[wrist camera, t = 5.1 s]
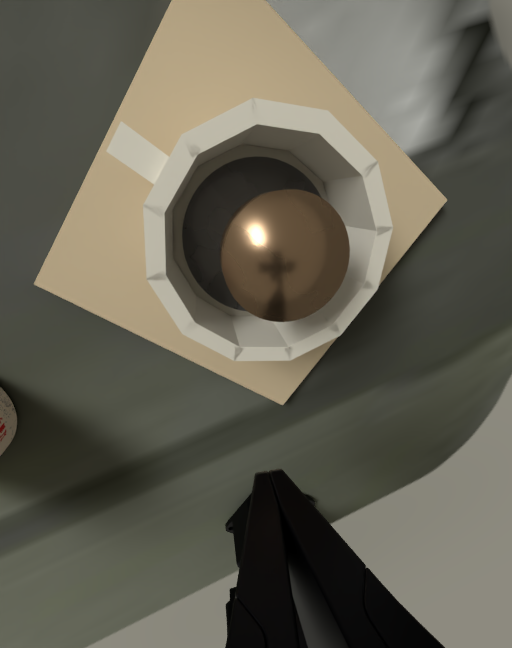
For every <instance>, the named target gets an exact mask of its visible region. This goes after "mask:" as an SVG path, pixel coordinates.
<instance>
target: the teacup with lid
mask: <svg viewBox="0 0 512 648" xmlns="http://www.w3.org/2000/svg"><path fill="white" fill-rule="evenodd" d="M16 428H17V415H16V411H15V408H14V405H13V403H12V401H11V400H10V398H9V396H8V395H7V394H6V392H5V391H4V390H3V389H2V388H1V387H0V456H1V455H2V453H3V452H4V451H5V449H6V448H7V447H8V446H9V444H10V443H11V441H12V439H13V438H14V435H15V432H16Z"/></svg>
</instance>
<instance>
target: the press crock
mask: <svg viewBox="0 0 512 648" xmlns="http://www.w3.org/2000/svg"><path fill="white" fill-rule="evenodd" d="M255 156H258V157H269V158H274V159H278V160H281V161H283V162H286V163H288V164H290V165H292V166H293V167H295V168H297V169H298V170H299V171H301V172H302V173H303V174H304V175H305V176H306V177H307V178H308V179H309V180H310V181H311V182H312V183H313V185H314V186H315V187H316V189H317V190H318V192H319V194H320V195H321V197H322V198H323V199H324V200H325V201H327V202H328V203H329V204H330V205H331V206H332V207H333V208H334V209H335V210H336V211H337V213H338V214H339V215H340V217H341V219H342V221H343V222H344V225H345V227H346V230H347V233H348V238H349V245H350V257H349V264H348V268H347V272H346V275H345V277H344V280H343V282H342V284H341V286H340V288H339V289H338V291H337V292H336V294H335V295H334V296H333V297H332V299H331V300H330V301H329V302H328V303H327V304H326V305H325V306H323V307H322V308H321V309H319V310H318V311H317V312H315V313H313V314H311V315H309V316H307V317H305V318H302V319H299V320H295V321H290V322H273V321H268V320H264V319H261V318H258V317H256V316H254V315H253V314H251V313H249V312H248V311H241V310H237V309H233V308H230V307H228V306H225V305H223V304H221V303H220V302H218V301H216V300H215V299H213V298H212V297H211V296H210V295H208V294H207V293H206V292H205V291H204V290H203V289H202V288H201V287H200V285H199V284H198V283H197V281H196V280H195V278H194V277H193V275H192V273H191V271H190V269H189V267H188V265H187V262H186V259H185V255H184V250H183V242H182V229H183V222H184V216H185V213H186V210H187V207H188V204H189V202H190V200H191V198H192V196H193V194H194V193H195V191H196V190H197V188H198V187H199V185H200V184H201V183H202V182H203V181H204V180H205V179H206V178H207V177H208V176H209V175H210V174H211V173H212V172H214V171H215V170H216V169H218V168H220V167H221V166H223V165H225V164H227V163H229V162H231V161H234V160H237V159H241V158H245V157H255ZM446 201H447V199H446V198H445V197H444V196H443V195H442V194H441V192H440V191H439V190H438V189H437V188H436V187H435V186H434V185H433V184H432V183H431V181H430V180H429V179H428V178H427V177H426V176H425V175H424V174H423V173H422V172H421V170H420V169H419V168H418V167H417V166H416V165H415V164H414V163H413V162H412V161H411V159H410V158H409V157H408V156H407V155H406V154H405V153H404V152H403V151H402V150H401V149H400V147H399V146H398V145H397V144H396V143H395V142H394V141H393V140H392V139H391V138H390V136H389V135H388V134H387V133H386V132H385V131H384V130H383V129H382V128H381V127H380V125H379V124H378V123H377V122H376V121H375V120H374V119H373V118H372V117H371V116H370V115H369V113H368V112H367V111H366V110H365V109H364V108H363V107H362V106H361V105H360V104H359V102H358V101H357V100H356V99H355V98H354V97H353V96H352V95H351V94H350V93H349V91H348V90H347V89H346V88H345V87H344V86H343V85H342V84H341V83H340V82H339V81H338V79H337V78H336V77H335V76H334V75H333V74H332V73H331V72H330V71H329V70H328V68H327V67H326V66H325V65H324V64H323V63H322V62H321V61H320V60H319V59H318V57H317V56H316V55H315V54H314V53H313V52H312V51H311V50H310V49H309V48H308V47H307V45H306V44H305V43H304V42H303V41H302V40H301V39H300V38H299V37H298V36H297V34H296V33H295V32H294V31H293V30H292V29H291V28H290V27H289V26H288V25H287V23H286V22H285V21H284V20H283V19H282V18H281V17H280V16H279V15H278V14H277V13H276V11H275V10H274V9H273V8H272V7H271V6H270V5H269V4H268V3H267V2H266V0H172V1H171V3H170V5H169V7H168V9H167V11H166V13H165V15H164V17H163V20H162V22H161V24H160V26H159V28H158V30H157V32H156V34H155V36H154V38H153V40H152V42H151V44H150V46H149V48H148V50H147V52H146V54H145V57H144V59H143V61H142V63H141V65H140V67H139V69H138V71H137V73H136V75H135V77H134V79H133V81H132V83H131V85H130V87H129V89H128V91H127V94H126V96H125V98H124V100H123V102H122V104H121V106H120V108H119V110H118V112H117V114H116V116H115V118H114V120H113V122H112V124H111V126H110V128H109V131H108V133H107V135H106V137H105V139H104V141H103V143H102V145H101V147H100V149H99V151H98V153H97V155H96V157H95V159H94V161H93V163H92V165H91V168H90V170H89V172H88V174H87V176H86V178H85V180H84V182H83V184H82V186H81V188H80V190H79V192H78V194H77V196H76V198H75V200H74V203H73V205H72V207H71V209H70V211H69V213H68V215H67V217H66V219H65V221H64V223H63V225H62V227H61V229H60V231H59V233H58V235H57V237H56V240H55V242H54V244H53V246H52V248H51V250H50V252H49V254H48V256H47V258H46V260H45V262H44V264H43V266H42V268H41V270H40V272H39V274H38V277H37V279H36V281H35V283H34V285H36V286H39V287H41V288H43V289H45V290H47V291H49V292H51V293H53V294H55V295H57V296H59V297H61V298H63V299H65V300H67V301H69V302H71V303H73V304H76V305H78V306H80V307H82V308H84V309H86V310H88V311H90V312H92V313H94V314H96V315H98V316H100V317H102V318H104V319H106V320H108V321H110V322H112V323H115V324H117V325H119V326H121V327H123V328H125V329H127V330H129V331H131V332H133V333H135V334H137V335H139V336H141V337H143V338H145V339H147V340H149V341H152V342H154V343H156V344H158V345H160V346H162V347H164V348H166V349H168V350H170V351H172V352H174V353H176V354H178V355H180V356H182V357H184V358H186V359H189V360H191V361H193V362H195V363H197V364H199V365H201V366H203V367H205V368H207V369H209V370H211V371H213V372H215V373H217V374H219V375H221V376H223V377H225V378H228V379H230V380H232V381H234V382H236V383H238V384H240V385H242V386H244V387H246V388H248V389H250V390H252V391H254V392H256V393H258V394H260V395H262V396H265V397H267V398H269V399H271V400H273V401H275V402H277V403H279V404H281V405H284V403H285V402H286V401H287V400H288V398H289V397H290V396H291V395H292V393H293V392H294V391H295V390H296V388H297V387H298V386H299V385H300V383H301V382H302V381H303V380H304V378H305V377H306V376H307V375H308V373H309V372H310V371H311V370H312V368H313V367H314V366H315V365H316V363H317V362H318V361H319V360H320V358H321V357H322V356H323V355H324V353H325V352H326V351H327V350H328V348H329V347H330V346H331V345H332V343H333V342H334V341H335V340H336V338H337V337H338V336H341V334H342V333H343V332H344V331H345V329H346V328H347V327H348V326H349V324H350V323H351V322H352V321H353V319H354V318H355V317H356V316H357V314H358V313H359V312H360V311H361V309H362V308H363V307H364V306H365V304H366V303H367V302H368V301H369V299H370V298H371V297H372V296H373V294H374V293H375V292H376V291H377V290H378V286H379V285H380V283H381V282H382V281H383V280H384V278H385V277H386V276H387V275H388V273H389V272H390V271H391V270H392V268H393V267H394V266H395V265H396V263H397V262H398V261H399V260H400V258H401V257H402V256H403V255H404V253H405V252H406V251H407V250H408V249H409V247H410V246H411V245H412V244H413V242H414V241H415V240H416V239H417V237H418V236H419V235H420V234H421V232H422V231H423V230H424V229H425V227H426V226H427V225H428V224H429V222H430V221H431V220H432V219H433V217H434V216H435V215H436V214H437V212H438V211H439V210H440V209H441V207H442V206H443V205H444V204H445V202H446Z"/></svg>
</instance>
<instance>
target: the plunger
mask: <svg viewBox="0 0 512 648" xmlns="http://www.w3.org/2000/svg"><path fill="white" fill-rule="evenodd" d="M182 242H183V250H184V255H185V259H186V262H187V265H188V267H189V269H190V271H191V273H192V275H193V277H194V278H195V280H196V281H197V283H198V284H199V285H200V287H201V288H202V289H203V290H204V291H205V292H206V293H207V294H208V295H210V296H211V297H212V298H213V299H215V300H216V301H218V302H220V303H221V304H223V305H225V306H228V307H230V308H233V309H237V310H241V311H248V312H249V313H251V314H253V315H254V316H256V317H258V318H261V319H264V320H268V321H273V322H290V321H295V320H299V319H302V318H305V317H307V316H309V315H311V314H313V313H315V312H317V311H318V310H319V309H321V308H322V307H323V306H325V305H326V304H327V303H328V302H329V301H330V300H331V299H332V297H333V296H334V295H335V294H336V292H337V291H338V289H339V288H340V286H341V284H342V282H343V280H344V277H345V275H346V272H347V268H348V264H349V257H350V245H349V238H348V233H347V230H346V227H345V225H344V222H343V221H342V219H341V217H340V215H339V214H338V213H337V211H336V210H335V209H334V208H333V207H332V206H331V205H330V204H329V203H328V202H327V201H325V200H324V199H323V198H322V197H321V195H320V194H319V192H318V190H317V189H316V187H315V186H314V185H313V183H312V182H311V181H310V180H309V179H308V178H307V177H306V176H305V175H304V174H303V173H302V172H301V171H299V170H298V169H297V168H295V167H293V166H292V165H290V164H288V163H286V162H283V161H281V160H278V159H274V158H269V157H258V156H255V157H245V158H241V159H237V160H234V161H231V162H229V163H227V164H225V165H223V166H221V167H220V168H218V169H216V170H215V171H214V172H212V173H211V174H210V175H209V176H208V177H207V178H206V179H205V180H204V181H203V182H202V183H201V184H200V185H199V187H198V188H197V190H196V191H195V193H194V194H193V196H192V198H191V200H190V202H189V204H188V207H187V210H186V213H185V216H184V222H183V229H182Z"/></svg>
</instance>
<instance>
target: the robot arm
mask: <svg viewBox="0 0 512 648" xmlns="http://www.w3.org/2000/svg"><path fill="white" fill-rule="evenodd" d="M314 505H315V502H314V500H313V498H312V497H309V496H306V495H304V494H303V493H302V492H301V491H300V489H299V488H298V487H297V486H296V485H295V484H294V482H293V481H292V480H291V479H290V478H289V477H288V476H287V474H286V473H285V472H284V471H283V470H282V469H276V470H270V471H269V473H268V472H267V471H264V472H258V473H256V474H255V477H254V483H253V490H252V493H251V494H250V495H249V497H248V498H247V499H246V500H245V501H244V503H243V504H242V505H241V506H240V507H239V508H238V510H237V511H236V512H235V513H234V514H233V516H232V517H231V518H230V519H229V520H228V522H227V523H226V524H225V526H226V531H227V532H230V533H233V534H234V543H235V552H236V561H237V566H238V567H239V574H238V581H237V586H236V587H234V588H231V589H230V601H229V602H228V603H227V604H226V616H227V643H226V647H225V648H445V647H444V646H443V645H442V644H441V643H440V642H439V641H438V640H437V639H436V638H434V636H433V635H431V634H430V633H429V632H428V631H427V630H426V629H425V628H424V627H423V626H422V625H421V624H420V623H419V622H418V621H417V620H416V619H415V618H414V617H413V616H412V615H411V614H410V613H409V612H408V611H407V610H406V609H405V608H404V607H403V606H402V605H401V604H400V603H399V602H398V601H397V600H396V599H395V597H394V596H393V595H392V594H391V593H390V592H389V591H388V590H387V589H386V588H385V587H384V585H382V583H381V582H380V581H379V580H378V579H377V578H376V576H375V575H374V574H373V573H372V572H371V571H370V569H368V568H366V565H365V564H364V563H363V562H362V561H361V559H360V558H359V557H358V556H357V555H356V554H355V553H354V551H353V550H352V549H351V548H350V547H349V546H348V544H347V543H346V542H345V541H344V540H343V539H342V538H341V536H340V535H339V534H338V533H337V532H336V531H335V530H334V528H333V527H332V526H331V525H330V524H329V523H328V521H327V520H326V519H325V518H324V517H323V516H322V515H321V513H320V512H319V511H318V510H317V509H316V508H315V507H314Z"/></svg>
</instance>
